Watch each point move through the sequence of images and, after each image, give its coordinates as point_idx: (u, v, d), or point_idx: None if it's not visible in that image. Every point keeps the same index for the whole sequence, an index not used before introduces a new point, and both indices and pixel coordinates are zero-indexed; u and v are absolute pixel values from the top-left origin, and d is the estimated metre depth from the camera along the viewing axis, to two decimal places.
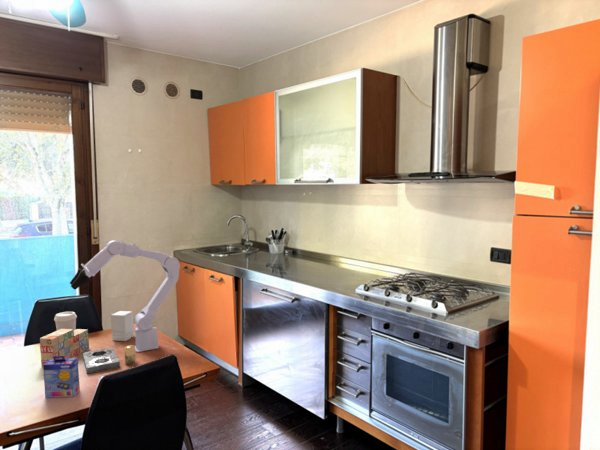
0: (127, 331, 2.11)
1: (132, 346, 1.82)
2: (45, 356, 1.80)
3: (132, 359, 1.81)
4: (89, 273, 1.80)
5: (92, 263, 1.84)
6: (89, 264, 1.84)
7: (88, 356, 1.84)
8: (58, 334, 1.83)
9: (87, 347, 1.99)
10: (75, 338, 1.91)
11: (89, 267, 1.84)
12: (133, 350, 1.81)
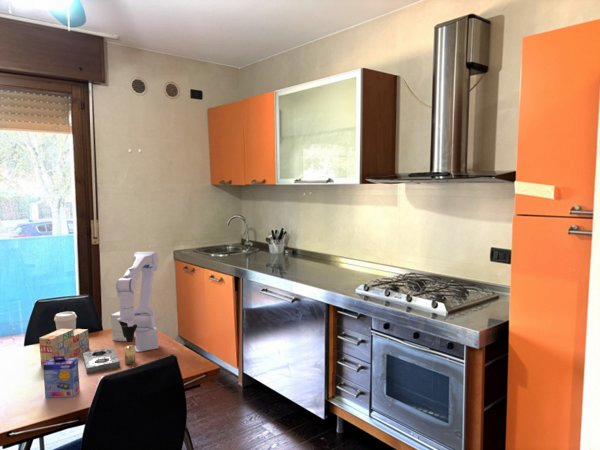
0: None
1: (132, 346, 1.82)
2: (44, 355, 1.80)
3: (132, 359, 1.81)
4: (129, 323, 1.75)
5: (123, 312, 1.78)
6: (122, 315, 1.78)
7: (88, 356, 1.84)
8: (58, 334, 1.83)
9: (87, 347, 1.99)
10: (75, 338, 1.92)
11: (125, 317, 1.78)
12: (133, 350, 1.81)
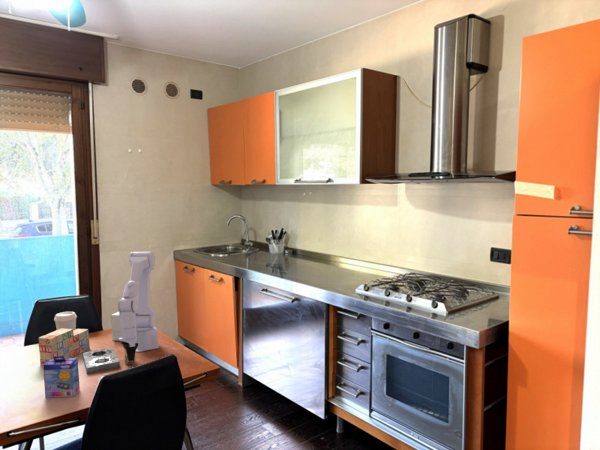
0: None
1: None
2: (44, 355, 1.80)
3: None
4: (131, 343, 1.75)
5: (125, 332, 1.79)
6: (124, 335, 1.79)
7: (88, 356, 1.84)
8: (57, 334, 1.84)
9: (87, 347, 1.99)
10: (75, 338, 1.92)
11: (127, 336, 1.79)
12: None
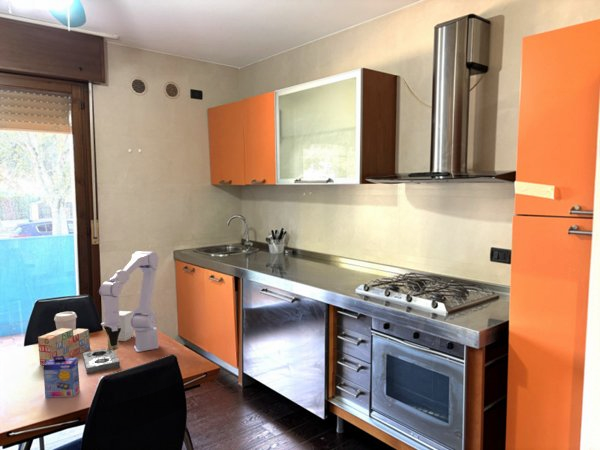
0: (127, 331, 2.11)
1: None
2: (43, 355, 1.81)
3: None
4: (114, 328, 1.73)
5: (108, 317, 1.76)
6: (106, 319, 1.76)
7: (88, 356, 1.84)
8: (56, 334, 1.84)
9: (88, 347, 1.99)
10: (75, 338, 1.92)
11: (109, 321, 1.76)
12: None
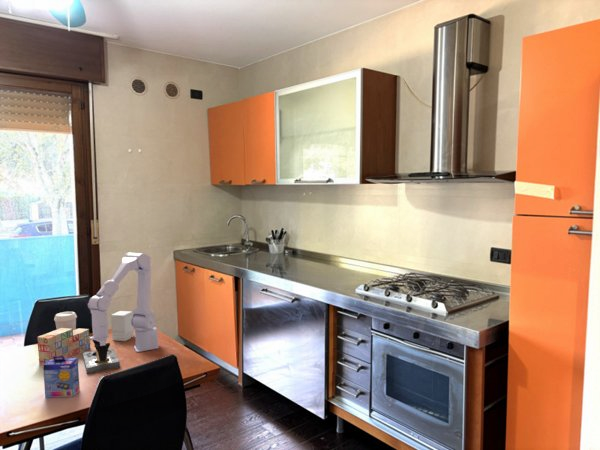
0: (127, 331, 2.11)
1: None
2: (42, 354, 1.81)
3: (103, 362, 1.78)
4: (102, 342, 1.72)
5: (96, 331, 1.75)
6: (95, 333, 1.75)
7: (88, 356, 1.84)
8: (56, 333, 1.84)
9: (88, 347, 1.99)
10: (74, 338, 1.92)
11: (97, 335, 1.75)
12: None
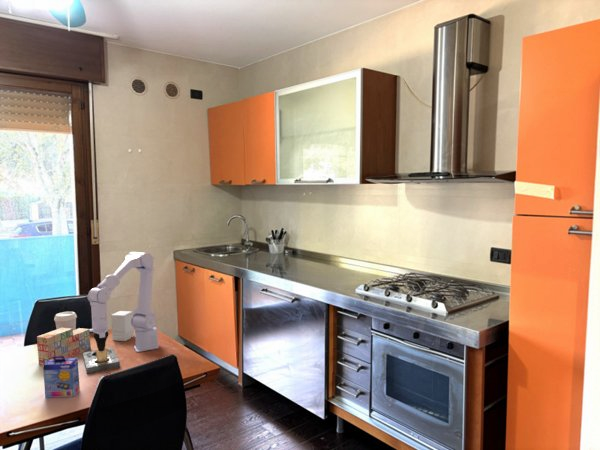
0: (127, 331, 2.11)
1: (104, 349, 1.79)
2: (41, 354, 1.82)
3: (103, 362, 1.78)
4: (101, 334, 1.72)
5: (96, 323, 1.75)
6: (94, 325, 1.75)
7: (88, 356, 1.84)
8: (55, 333, 1.85)
9: (88, 347, 1.99)
10: (74, 337, 1.92)
11: (97, 327, 1.75)
12: (104, 354, 1.78)
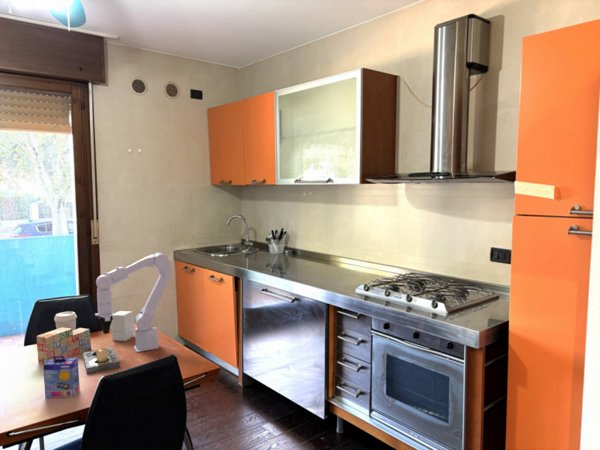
0: (127, 331, 2.11)
1: (104, 349, 1.79)
2: (41, 354, 1.82)
3: (103, 362, 1.78)
4: (107, 318, 1.85)
5: (101, 308, 1.89)
6: (100, 310, 1.89)
7: (88, 356, 1.84)
8: (54, 333, 1.85)
9: (88, 347, 1.99)
10: (74, 337, 1.92)
11: (102, 312, 1.89)
12: (104, 354, 1.78)
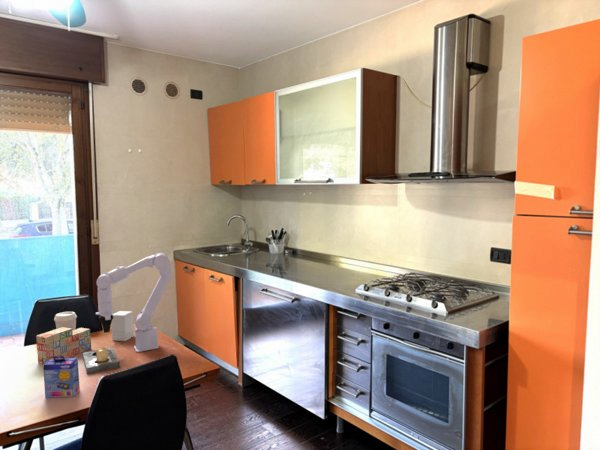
0: (127, 331, 2.11)
1: (104, 349, 1.79)
2: (40, 353, 1.83)
3: (103, 362, 1.78)
4: (107, 317, 1.87)
5: (102, 307, 1.90)
6: (100, 309, 1.91)
7: (88, 356, 1.84)
8: (54, 333, 1.85)
9: (89, 347, 1.99)
10: (74, 337, 1.93)
11: (103, 311, 1.90)
12: (104, 354, 1.78)
